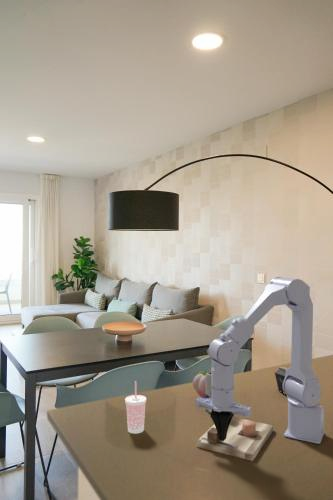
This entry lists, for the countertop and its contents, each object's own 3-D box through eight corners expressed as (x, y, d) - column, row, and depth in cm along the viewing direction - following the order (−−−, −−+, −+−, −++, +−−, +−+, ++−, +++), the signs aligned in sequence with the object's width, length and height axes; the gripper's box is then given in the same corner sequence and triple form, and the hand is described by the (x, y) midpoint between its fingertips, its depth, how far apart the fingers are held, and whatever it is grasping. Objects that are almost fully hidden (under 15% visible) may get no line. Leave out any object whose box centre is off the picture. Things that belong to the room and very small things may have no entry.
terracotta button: (257, 433, 113) (257, 422, 113) (253, 438, 109) (253, 427, 109) (244, 430, 114) (244, 419, 114) (240, 435, 111) (240, 424, 111)
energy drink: (211, 405, 135) (211, 369, 135) (225, 409, 132) (225, 372, 132) (202, 410, 131) (202, 373, 131) (216, 415, 128) (216, 376, 128)
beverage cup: (137, 423, 122) (136, 376, 122) (150, 430, 117) (150, 381, 117) (120, 429, 118) (120, 381, 117) (134, 436, 113) (134, 386, 113)
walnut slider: (220, 438, 108) (220, 429, 108) (216, 443, 105) (216, 433, 105) (212, 436, 109) (212, 427, 109) (207, 441, 107) (207, 431, 107)
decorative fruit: (224, 400, 140) (224, 371, 140) (206, 405, 135) (206, 375, 135) (207, 392, 148) (207, 364, 148) (188, 397, 143) (188, 368, 143)
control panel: (273, 430, 117) (273, 420, 117) (252, 461, 100) (252, 449, 100) (223, 420, 124) (223, 410, 124) (196, 446, 107) (196, 436, 107)
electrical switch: (304, 397, 143) (302, 371, 142) (294, 401, 140) (292, 375, 140) (284, 389, 151) (282, 364, 151) (274, 393, 148) (272, 368, 148)
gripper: (190, 386, 106) (190, 439, 106) (244, 396, 99) (244, 452, 99) (201, 378, 112) (201, 428, 112) (253, 387, 105) (253, 440, 105)
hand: (222, 439), depth 106 cm, fingers closed
